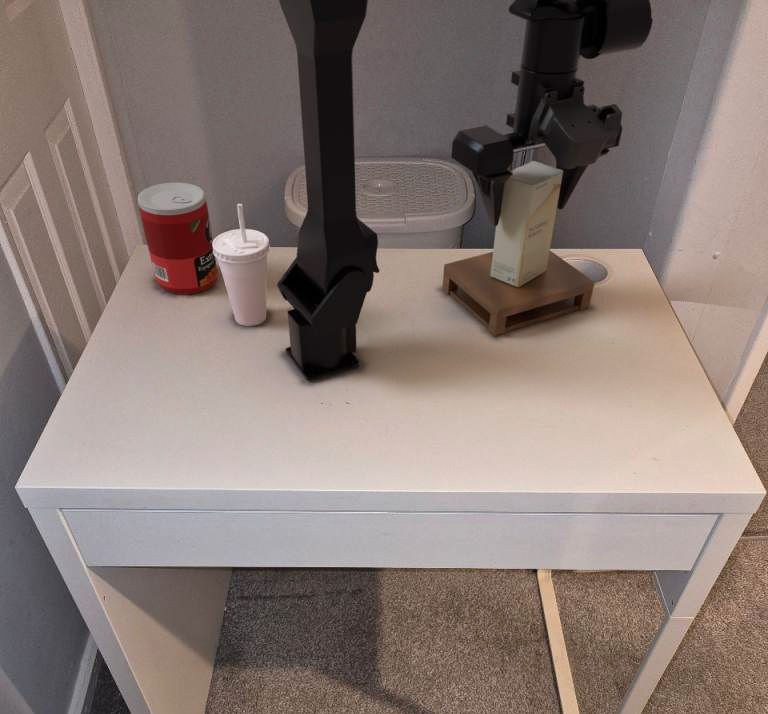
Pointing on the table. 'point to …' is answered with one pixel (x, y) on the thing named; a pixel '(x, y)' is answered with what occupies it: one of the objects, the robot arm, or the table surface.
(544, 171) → the cosmetic box
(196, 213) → the canned food
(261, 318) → the smoothie
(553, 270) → the shelf
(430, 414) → the table surface
